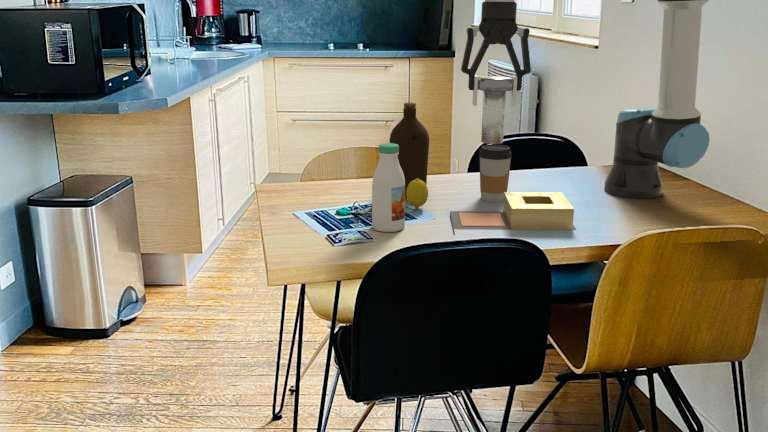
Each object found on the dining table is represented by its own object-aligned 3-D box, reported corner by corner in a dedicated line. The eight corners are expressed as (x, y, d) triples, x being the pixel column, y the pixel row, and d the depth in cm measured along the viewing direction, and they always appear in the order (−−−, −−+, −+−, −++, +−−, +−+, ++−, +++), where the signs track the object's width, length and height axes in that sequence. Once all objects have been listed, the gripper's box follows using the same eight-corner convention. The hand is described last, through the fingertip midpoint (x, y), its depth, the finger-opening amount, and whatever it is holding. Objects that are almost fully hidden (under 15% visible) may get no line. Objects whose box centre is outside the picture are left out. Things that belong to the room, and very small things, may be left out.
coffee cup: (508, 209, 193) (511, 151, 188) (475, 207, 194) (477, 150, 190) (509, 200, 201) (512, 144, 196) (478, 198, 202) (480, 143, 198)
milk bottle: (379, 234, 173) (379, 149, 167) (367, 225, 180) (366, 142, 174) (410, 230, 176) (411, 146, 170) (396, 221, 183) (397, 140, 177)
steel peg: (506, 138, 177) (510, 76, 173) (512, 145, 169) (516, 80, 165) (472, 138, 177) (475, 76, 173) (476, 145, 169) (479, 80, 165)
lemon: (405, 205, 196) (405, 175, 193) (426, 205, 196) (426, 175, 194) (407, 212, 190) (407, 181, 188) (429, 211, 191) (429, 180, 188)
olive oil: (436, 195, 205) (438, 103, 198) (408, 202, 198) (409, 107, 191) (408, 187, 213) (409, 99, 205) (381, 194, 206) (381, 103, 198)
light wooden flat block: (560, 212, 185) (561, 192, 184) (572, 229, 172) (574, 208, 170) (502, 211, 186) (504, 191, 184) (510, 229, 172) (511, 208, 171)
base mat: (563, 217, 186) (564, 211, 185) (576, 236, 172) (576, 229, 172) (449, 216, 186) (450, 210, 186) (453, 235, 173) (453, 228, 172)
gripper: (544, 0, 167) (536, 103, 174) (450, -1, 168) (446, 101, 174) (550, 1, 160) (542, 108, 167) (452, 0, 160) (448, 107, 167)
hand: (493, 104), depth 171 cm, fingers closed on steel peg, 8 cm apart
